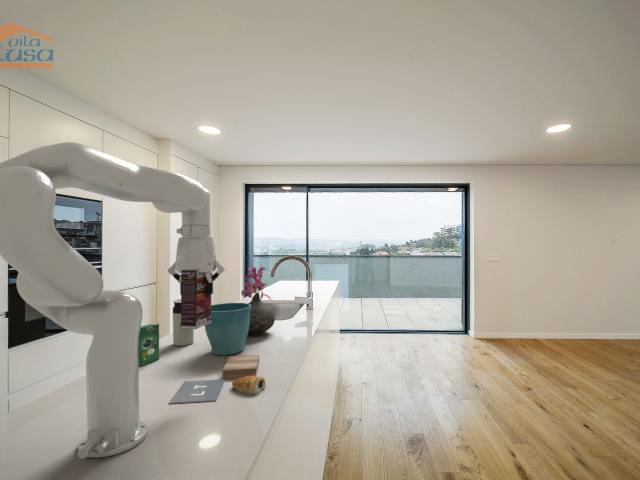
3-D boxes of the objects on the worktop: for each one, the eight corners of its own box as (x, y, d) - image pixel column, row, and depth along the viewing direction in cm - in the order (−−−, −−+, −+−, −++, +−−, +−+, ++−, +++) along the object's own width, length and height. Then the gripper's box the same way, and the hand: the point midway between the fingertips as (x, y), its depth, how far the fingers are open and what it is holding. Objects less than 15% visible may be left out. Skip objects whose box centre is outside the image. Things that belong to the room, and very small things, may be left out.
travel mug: (174, 341, 148) (173, 299, 148) (194, 339, 151) (193, 297, 151) (172, 347, 141) (171, 302, 141) (193, 345, 143) (192, 300, 143)
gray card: (216, 401, 92) (216, 399, 92) (168, 403, 91) (168, 402, 91) (225, 380, 106) (225, 379, 106) (184, 382, 105) (184, 381, 105)
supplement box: (196, 329, 94) (195, 270, 94) (180, 329, 94) (179, 270, 95) (212, 322, 102) (212, 267, 102) (197, 322, 103) (196, 268, 103)
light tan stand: (256, 376, 108) (255, 368, 108) (222, 378, 107) (222, 370, 107) (259, 362, 121) (259, 354, 121) (229, 363, 120) (229, 356, 120)
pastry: (226, 391, 98) (226, 378, 98) (240, 382, 105) (240, 370, 105) (256, 396, 95) (256, 382, 95) (268, 386, 101) (268, 373, 102)
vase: (230, 337, 153) (228, 268, 153) (249, 327, 170) (248, 265, 170) (265, 340, 149) (263, 269, 149) (281, 329, 165) (280, 265, 165)
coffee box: (154, 358, 127) (153, 322, 127) (160, 359, 126) (159, 322, 126) (134, 365, 120) (134, 327, 120) (140, 366, 119) (140, 328, 119)
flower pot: (193, 357, 128) (192, 310, 128) (218, 342, 145) (217, 301, 145) (238, 360, 124) (237, 312, 124) (259, 345, 141) (258, 303, 141)
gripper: (159, 232, 94) (160, 300, 94) (225, 231, 96) (226, 298, 95) (168, 233, 101) (169, 296, 101) (229, 232, 103) (230, 294, 103)
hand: (196, 296), depth 98 cm, fingers closed on supplement box, 5 cm apart
